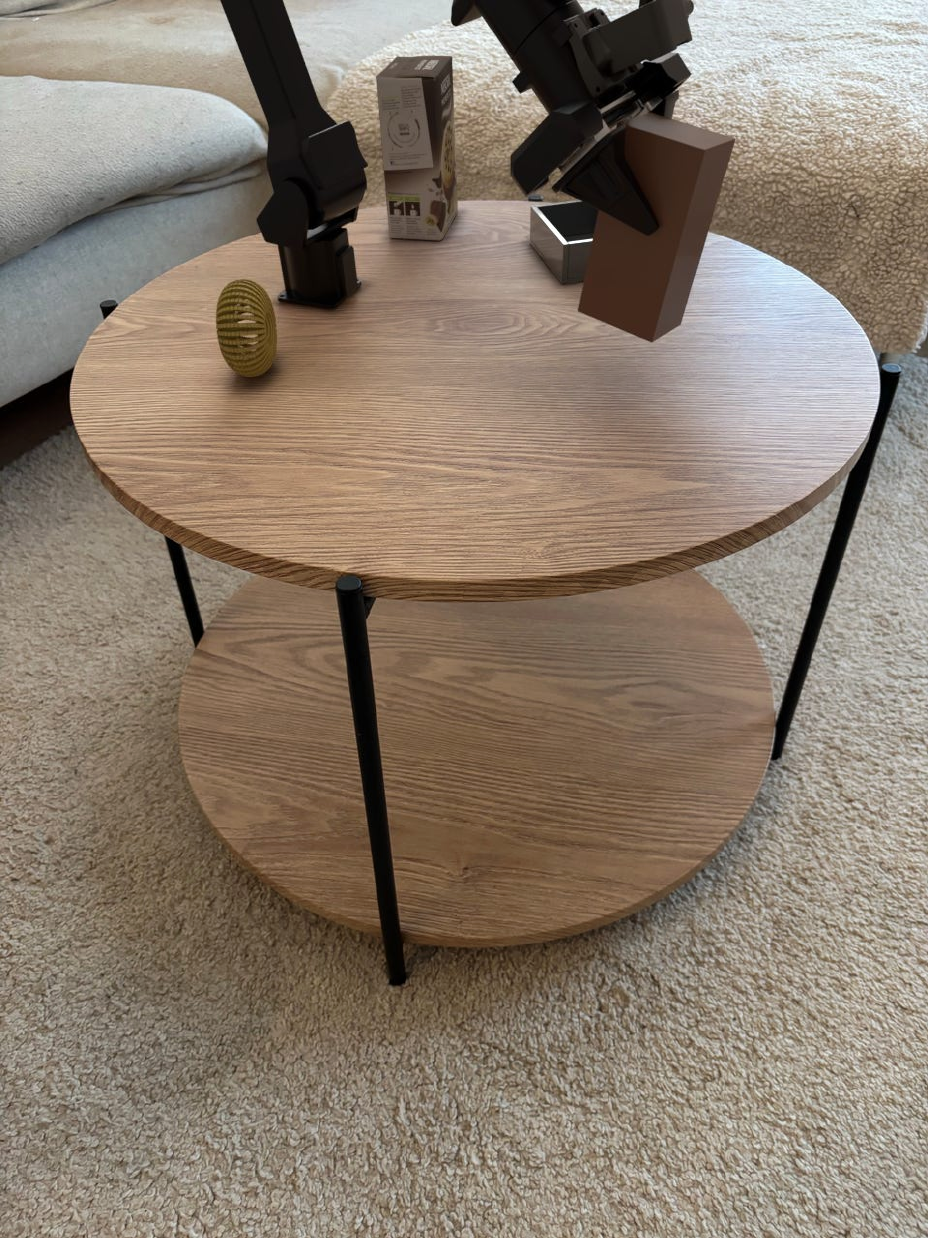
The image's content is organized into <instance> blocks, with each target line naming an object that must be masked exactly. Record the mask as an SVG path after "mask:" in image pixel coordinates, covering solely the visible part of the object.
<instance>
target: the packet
mask: <svg viewBox="0 0 928 1238" xmlns="http://www.w3.org/2000/svg"><path fill="white" fill-rule="evenodd" d="M623 123H625V124H626V135H625V158H626V161H627V162H628V164H629V166H630V168H631V170H632V172H633V174H634V175H635V177H636V179H637V181H638V183H639V185H640V187H641V189H642V190H643V192H644V194H645V196H646V198H647V200H648V202H649V203H650V205H651V207H652V209H653V212H654V214H655V216H656V218H657V220H658V223H659V228H658V229H657V230H656V231H655V232H654V233H652V234H651V235H650V236H646V235H644V234H642V233H641V232H639V231H637V230H635V229H633V228H632V227H630V226H628V225H626V224H624V223H623V222H621V221H619V220H617V219H615V218H613V217H612V216H610V215H608V214H606V213H604V212H602V211H601V210H599V211H598V216H597V221H596V226H595V230H594V235H593V240H592V244H591V249H590V254H589V259H588V263H587V268H586V273H585V278H584V281H583V283H582V286H581V287H582V288H581V291H580V298H579V301H578V307H577V312H578V313H580V314H583V315H586V316H587V317H590V318H592V319H595V320H596V321H600V322H602V323H604V324H606V325H609V326H611V327H613V328H616V329H618V330H620V331H623V332H625V333H628V334H630V335H633V336H634V337H637V338H639V339H641V340H644V341H646V342H649V343H654V342H655V341H657V340H659V339H660V338H662V337H664V336H665V335H668V333H670V332H672V331H673V330H675V329H676V328H678V327H679V326H681V325H682V323H683V318H684V315H685V312H686V310H687V309H686V308H687V305H688V303H689V298H690V295H691V292H692V288H693V285H694V281H695V278H696V275H697V272H698V268H699V264H700V261H701V258H702V254H703V251H704V248H705V244H706V241H707V237H708V235H709V231H710V227H711V225H712V221H713V216H714V213H715V210H716V207H717V204H718V199H719V197H720V194H721V191H722V187H723V183H724V180H725V177H726V172H727V169H728V166H729V163H730V160H731V156H732V153H733V149H734V146H735V143H736V138H735V137H731V136H728V135H725V134H723V133H718V132H716V131H713V130H709V129H706V128H703V127H700V126H697V125H694V124H690V123H688V122H687V123H686V122H683V121H680V120H677V119H673V118H672V119H671V118H668V117H664V116H661V115H658V114H655V113H651V112H650V113H647V114H644V115H640V116H637V117H633V118H630V119H626V120H623V121H619V122H617V126H616V128H617V127H619V126H620V125H622V124H623Z"/></svg>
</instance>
